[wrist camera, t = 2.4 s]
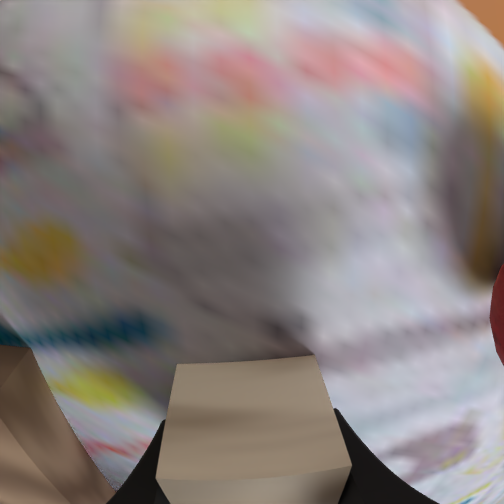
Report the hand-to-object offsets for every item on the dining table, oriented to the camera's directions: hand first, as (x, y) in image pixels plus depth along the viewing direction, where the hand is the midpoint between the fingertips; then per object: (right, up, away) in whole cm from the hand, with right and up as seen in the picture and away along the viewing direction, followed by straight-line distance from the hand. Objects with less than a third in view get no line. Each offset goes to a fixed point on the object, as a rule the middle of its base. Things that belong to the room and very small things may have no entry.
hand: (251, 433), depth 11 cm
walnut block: (-16, -4, +3) cm, 17 cm away
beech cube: (0, 0, +1) cm, 2 cm away
